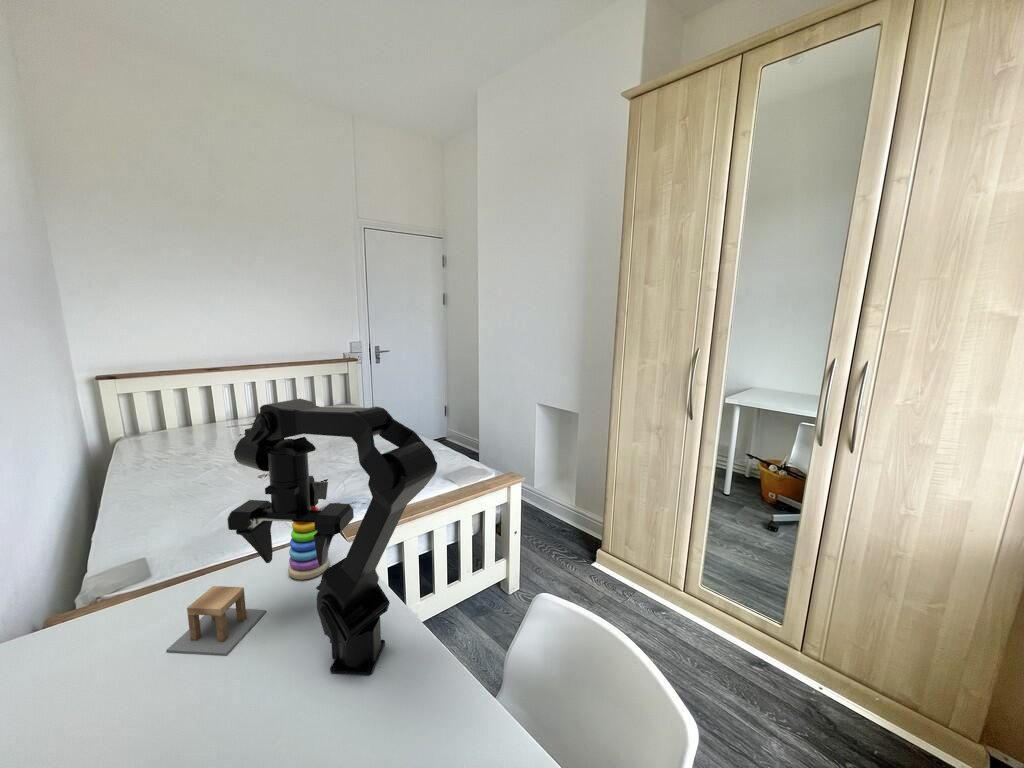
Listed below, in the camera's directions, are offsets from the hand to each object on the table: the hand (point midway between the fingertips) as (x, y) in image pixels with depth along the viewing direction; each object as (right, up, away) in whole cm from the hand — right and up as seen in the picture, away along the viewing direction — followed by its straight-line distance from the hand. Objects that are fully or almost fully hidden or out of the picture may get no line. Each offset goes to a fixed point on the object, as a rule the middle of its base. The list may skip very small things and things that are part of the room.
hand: (295, 563), depth 71 cm
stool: (-13, -11, 0) cm, 17 cm away
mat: (-13, -12, 0) cm, 18 cm away
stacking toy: (-6, -9, +18) cm, 21 cm away
